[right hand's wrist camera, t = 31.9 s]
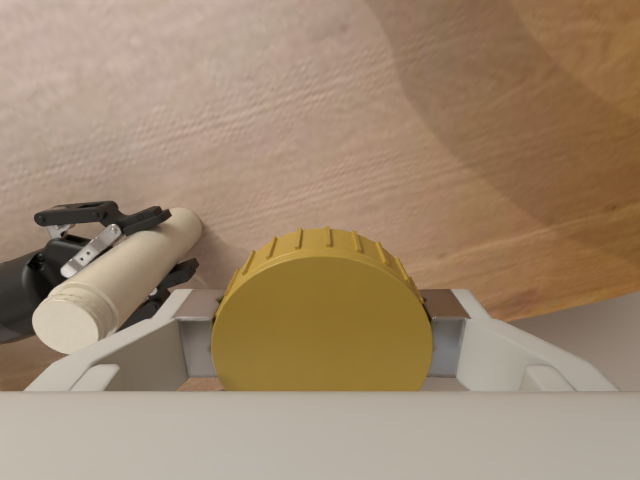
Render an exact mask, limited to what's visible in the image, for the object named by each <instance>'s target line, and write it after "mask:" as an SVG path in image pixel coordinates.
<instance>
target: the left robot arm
mask: <svg viewBox="0 0 640 480" xmlns="http://www.w3.org/2000/svg"><path fill="white" fill-rule="evenodd" d="M170 217H172V214H171V212H170V211H169V209H166V210H164V211H162V209H161V207H160V206H153V207H151V208H148V209H145V210H143V211H140V212H138V213H135V214H133V215H124V214H122V213H121V212H120V211H119V210H118V205H117V204H116V203H115V202H113V201H101V202H90V203H79V204H68V205H58V206H55V207H52V208H49V209H47V210H44V211H42V212H39V213H37V214H35V216H34V220H35V222H36V223H37V224H38V225H40V226H46V227H47V230H48V232H49V235H50V237H51V240H50V241H49V242H48V243H47V245H46V246H45V248H42V249H40V250H37V251H35V252H32V253H29V254H27V255H24V256H22V257H19V258H16V259H14V260H11V261H8V262H4V263H0V345H1V344H6V343H12V342H16V341H20V340H23V339H26V338H29V337H32V336H34V335H37V334H36V333H35V331H34V328H33V324H32V317H33V314H34V312H35V310H36V309H37V307H38V306H39V304H41V303H42V301H43V300H44V299H46V298H47V297H48V295H49V293H50V292H51V291H52V290H53V289H54V288H55V287H56V286H58V285H59V284H61V283H62V282H64V281H65V280H67V279H68V278H70V277H71V276H72V275H74V274H75V273H77V272H78V271H80V270H81V269H83V268H84V267H86V266H87V265H89V264H90V263H91V262H93V261H94V260H96V259H97V258H99V257H100V256H102V255H103V254H105V253H106V252H107V251H109V250H110V249H112V248H113V247H112V246H113V245H115V244H116V243H117V242H118V241H119V240H120V239H121V238H122V237H123V236H124V235H126V236H129V235H132V234H134V233H136V232H139V231H142V230H145V229H147V228H150V227H153V226H155V225H158V224H160V223H163V222H165V221H166V220H168V219H169V218H170ZM88 222H100V223H101V224H103V225H104V226H105V227H106V228H105V229H104V230H103V231H102V232H101V233H100V234H99V235H98V236H97V237H95V238H94V239H93V240H90V239H86V238H82V237H78V236H74V235H70V234H67V231H68V230H69V229H71V228H73V227H74V226H75V225H76V223H88ZM198 266H199V263H198V262H197V260H196V258H193V259H190V260H188V261H185V262H182V263H179V264H177V265H176V266H175V267H174V268H173V269H172V270H171V271H170V273H169V274H168V275H167V276H166V277H165V278H164V279H163V280H162V281H161V282H160V284H159V285H158V286H157V287H156V288H155V289H154V290H153V291H152V292H151V294H150V295H149V296H148V297H149V299H148V300H146V301H145V302H144V303H142V304H141V305H140V306H139V307H138V308H137V309H136V310H135V311H134V312H133V314H132V315H131V316H130V317H129V318H128V319H127V320H126V321H125V322H124V323H123V325H122V326H121V327H120V328H119V329H118V330H117V331H116V332H115V333H117V332H119V331H121V330H124V329H126V328H128V327H130V326H132V325H134V324H136V323H138V322H141V321H143V320H145V319H149V318H151V317H152V316H154V315H155V314H156V313H157V311H158V310H159V309H160V308H161V306H162V305H163V304H164V303H165V301H166V300H167V299H168V298H169V296H170V295H171V293H170V292H169V291H168V290H167V288H170V287H173V286H176V285H179V284H181V283H184V282H187V281H188V280H189V279H190V278H191V277H192V276H193V275H194V273H195V272H196V268H197V267H198ZM115 333H114V334H115Z"/></svg>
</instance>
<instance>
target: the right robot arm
mask: <svg viewBox="0 0 640 480" xmlns="http://www.w3.org/2000/svg"><path fill="white" fill-rule="evenodd" d="M225 291H226V290H218V289H176V290H174V291H173V293H172V294H171V295H170V296H169V298H168V299H167V300H166V301H165V303H164V304H163V305H162V306H161V308H160V309H159V310H158V311H157V313H156V314H155V315H154V316H153V318H152V319H145V320H143V321H141V322H138V323H136V324H134V325H132V326H130V327H128V328H126V329H124V330H121V331H119V332H117V333H115V334H113V335H111V336H109V337H106V338H104V339H102V340H100V341H98V342H96V343H94V344H92V345H89V346H87V347H85V348H83V349H81V350H79V351H77V352H75V353H72V354H70V355H68V356H66V357H64V358H62V359H60V360H58V361H55V362H53V363H52V364H51V365H50V366H49V367H48V368H47V369H46V370H45V371H44V372H42V373H41V374H40V375H39V376H38V377H37V378H36V379H35V380H34V381H33V382H32V383H31V384H30V385H29V386H28V387H27V388H26V389H25V390H24V391H0V480H640V391H622V390H621V389H620V388H619V387H618V386H616V385H615V384H614V383H613V382H612V381H611V380H610V379H609V378H608V377H607V376H606V375H605V374H604V373H603V372H602V371H601V370H600V369H598V368H597V367H596V366H595V365H594V364H593V363H591V362H589V361H587V360H585V359H583V358H580V357H578V356H576V355H574V354H572V353H570V352H567V351H565V350H563V349H561V348H559V347H557V346H555V345H553V344H550V343H548V342H546V341H544V340H542V339H540V338H538V337H536V336H533V335H531V334H529V333H527V332H525V331H523V330H521V329H518V328H516V327H514V326H512V325H510V324H508V323H506V322H503V321H501V320H499V319H492V318H491V317H490V315H489V314H488V313H487V312H486V310H485V309H484V308H483V307H482V306H481V304H480V303H479V302H478V301H477V300H476V298H475V297H474V296H473V295H472V293H471V292H470V291H469V290H467V289H430V290H418V291H419V293H420V295H421V297H422V298H423V300H424V304H422V306H423V308H424V310H425V312H426V314H427V317H428V319H429V322H430V325H431V330H432V335H433V354H432V361H431V365H430V368H429V372H428V374H427V376H426V377H444V378H456V380H457V381H459V382H460V383H461V384H462V385H463V386H464V387H466V388H467V389H468V390H469V391H175V390H176V389H177V388H178V387H180V386H181V385H182V384H183V383H184V382H185V381H187V380H188V378H200V377H217V374H216V371H215V368H214V365H213V360H212V354H211V337H212V331H213V326H214V323H215V320H216V318H215V314H216V312H217V310H218V308H219V306H220V304H221V302H222V300H223V298H224V296H225V295H224V293H225Z"/></svg>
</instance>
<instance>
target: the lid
mask: <svg viewBox="0 0 640 480" xmlns="http://www.w3.org/2000/svg"><path fill="white" fill-rule="evenodd" d="M224 295H225V296H224V298H223V300H222V302H221V304H220V306H219V308H218V310H217V312H216V314H215V318H216V320H215V323H214V326H213V331H212V337H211V354H212V360H213V365H214V368H215V371H216V374H217V377H218V379H219V381H220V383H221V385H222V386H223V388H224V389H225V391H419V389H420V387H421V386H422V384H423V383H424V381H425V378H426V376H427V374H428V372H429V368H430V365H431V361H432V354H433V335H432V330H431V325H430V322H429V319H428V317H427V314H426V312H425V310H424V308H423V306H422V304H424V300H423V298H422V297H421V295H420V293H419V291H418V289H417V287H416V285H415V283H414V282H413V280H412V278H411V276H410V277H408V275H407V273H406V271H405V269H404V267H403V265H402V264H401V262H400V260H399V258H398V257H396V258H394V257H393V256H392V255H391V254H390V253H389V252H387V251H386V250H385V249H384V248H382V246H381V243H380V242H378V241H377V242H376V243H375V242H373V241H371V240H369V239H367V238H365V237H363V236H360V235H357V232H356V231H352V233H351V232H347V231H343V230H337V229H330V228H329V226H325V228H323V229H307V230H302V228H298V230H297V232H293V233H289V234H286V235H284V236H281V237H279V238H276V236H275V237H273V238H272V240H271V242H269V243H267V244H266V245H264V246H263V247H261V248H260V249H259V250H258V251H256V252H255V251H254V250H253V251H252V252H251V254H250V256H249V258H248V260H247V261H246V262H245V264H244V265H243V266H242V268H241V269H240V270H239V269H237V270H236V271H235V273H234V275H233V277H232V279H231V281H230V283H229V285H228V287H227V289H226V291H225V293H224Z"/></svg>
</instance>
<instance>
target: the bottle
mask: <svg viewBox="0 0 640 480" xmlns="http://www.w3.org/2000/svg"><path fill="white" fill-rule="evenodd" d="M169 211H170V212H171V214H172V217H170V218H169V219H168V220H166V221H165V222H163V223H160V224H158V225H155V226H153V227H150V228H147V229H145V230H142V231H139V232H136V233H134V234H132V235H131V236H129V237H128V238H126V239H125V240H123V241H122V242H121V243H119V244H118V245H116V246H115V247H113V248H112V249H110V250H109V251H107V252H106V253H105V254H103V255H102V256H100V257H99V258H97V259H96V260H94V261H93V262H91V263H90V264H89V265H87V266H86V267H84V268H83V269H81V270H80V271H78V272H77V273H75V274H74V275H72V276H71V277H70V278H68V279H67V280H65V281H64V282H62V283H61V284H59V285H58V286H56V287H55V288H54V289H53V290H52V291H51V292H50V293H49V295H48V297H47V298H46V299H44V300H43V301H42V303H41V304H39V306H38V307H37V309H36V310H35V312H34V314H33V317H32V324H33V328H34V331H35V333H36V334H37V336H38V337H39V339H40V340H41V341H42V342H43V343H44V344H46V345H47V346H48V347H50V348H51V349H53V350H55V351H58V352H60V353H64V354H69V355H70V354H72V353H75V352H77V351H79V350H81V349H83V348H85V347H87V346H89V345H92V344H94V343H96V342H98V341H100V340H102V339H104V338H106V337H109V336H111V335H113V334H114V333H115V332H116V331H117V330H118V329H119V328H120V327H121V326H122V325H123V323H124V322H125V321H126V320H127V319H128V318H129V317H130V316H131V315H132V314H133V312H134V311H135V310H136V309H137V308H138V307H139V306H140V305H141V304H142V302H143V301H144V300H145V299H146V298H147V297H148V296H149V295H150V294H151V292H152V291H153V290H154V289H155V288H156V287H157V286H158V285H159V284H160V282H161V281H162V280H163V279H164V278H165V277H166V276H167V275H168V274H169V273H170V271H171V270H172V269H173V268H174V267H175V266H176V265H177V264H178V263H179V261H180V260H181V259H182V258H183V257H184V256H185V255H186V254H187V253H188V251H189V250H190V249H191V248H192V247H193V246H194V245H195V244H196V243H197V241H198V240H199V239H200V237H201V235H202V225H201V222H200V220H199V218H198V217H197V216H196V215H195V214H194V213H193V212H192V211H190V210H188V209H186V208H182V207H175V208H171V209H169Z"/></svg>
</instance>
